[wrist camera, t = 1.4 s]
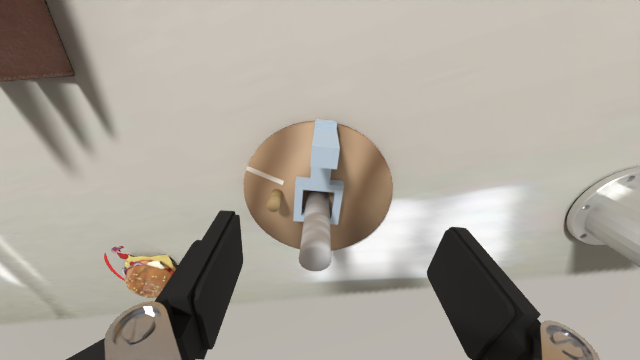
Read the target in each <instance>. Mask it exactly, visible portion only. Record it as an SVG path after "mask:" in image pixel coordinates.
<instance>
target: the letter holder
mask: <svg viewBox="0 0 640 360" xmlns="http://www.w3.org/2000/svg"><path fill="white" fill-rule="evenodd" d="M65 76H74V72H73V70H72V68H71V65H70V63H69V59H68V58H67V56H66V52H65V50H64V48H63V44H62V42H61V40H60V37H59V35H58V32H57V30H56V28H55V25H54V23H53V20H52V17H51V15H50V12H49V10H48V7H47V5H46V3H45V0H0V81H13V80H24V79H35V78H53V77H65Z"/></svg>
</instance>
